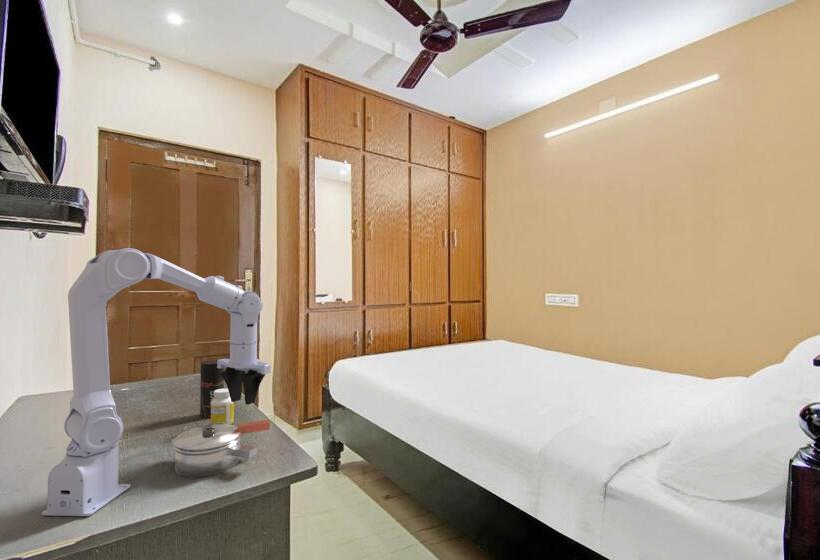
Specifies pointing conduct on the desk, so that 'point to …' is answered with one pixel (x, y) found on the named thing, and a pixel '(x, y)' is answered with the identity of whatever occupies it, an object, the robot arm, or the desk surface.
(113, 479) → the robot arm
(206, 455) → the pot
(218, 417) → the supplement bottle
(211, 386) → the deodorant
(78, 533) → the desk surface
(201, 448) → the lid
